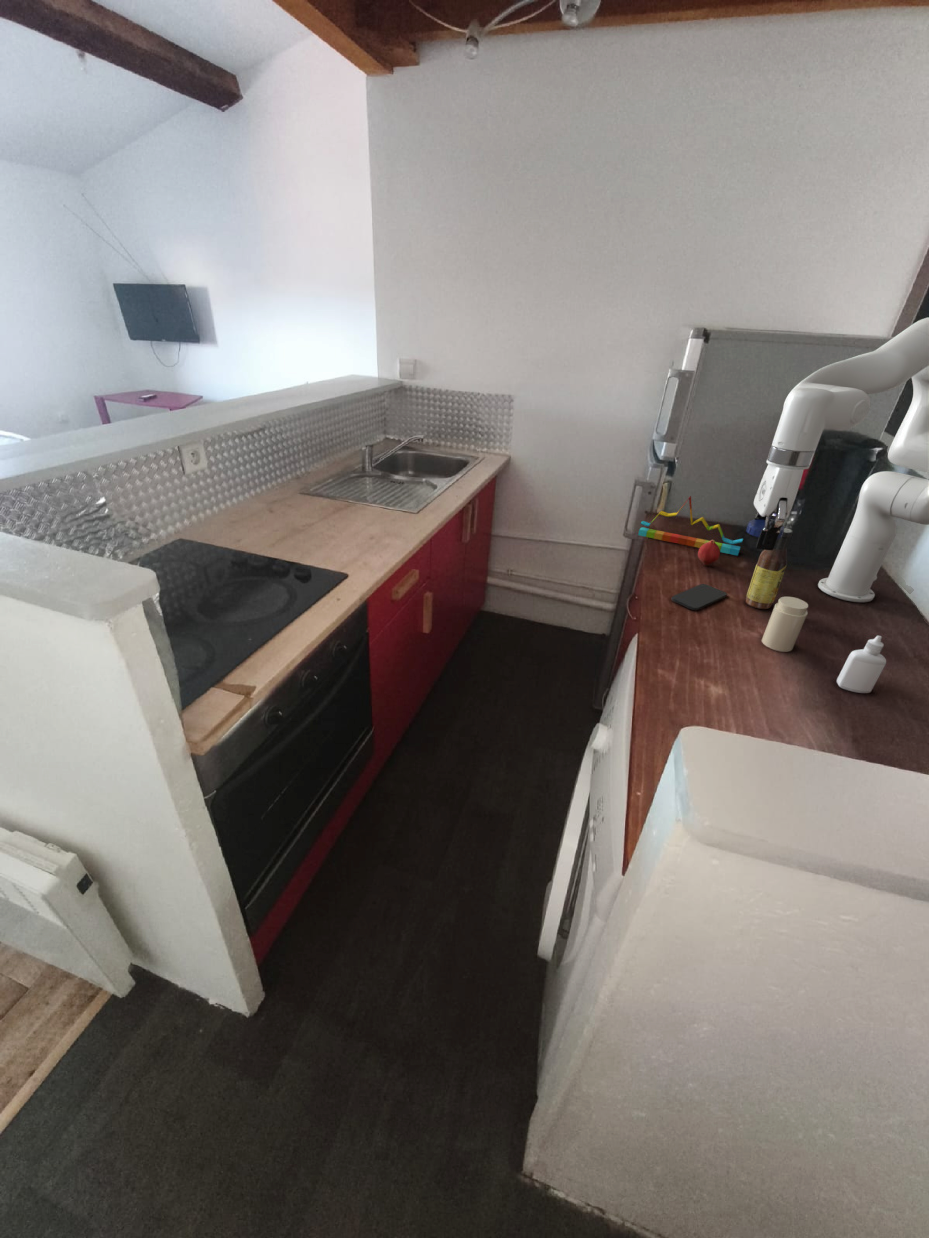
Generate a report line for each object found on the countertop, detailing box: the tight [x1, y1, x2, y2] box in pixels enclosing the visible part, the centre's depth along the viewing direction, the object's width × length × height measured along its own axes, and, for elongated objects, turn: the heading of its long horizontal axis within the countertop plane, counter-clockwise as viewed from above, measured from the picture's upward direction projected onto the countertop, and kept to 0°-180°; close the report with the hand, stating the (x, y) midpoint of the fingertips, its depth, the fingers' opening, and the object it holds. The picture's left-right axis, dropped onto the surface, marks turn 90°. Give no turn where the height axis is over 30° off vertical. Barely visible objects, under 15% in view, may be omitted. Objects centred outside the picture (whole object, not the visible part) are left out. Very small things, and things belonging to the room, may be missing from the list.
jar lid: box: [745, 519, 786, 539], centre depth 107 cm, size 7×7×2 cm
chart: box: [637, 495, 744, 557], centre depth 160 cm, size 30×3×15 cm, turn 59°
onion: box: [697, 539, 721, 566], centre depth 148 cm, size 6×6×8 cm
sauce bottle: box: [745, 527, 793, 610], centre depth 124 cm, size 6×6×20 cm
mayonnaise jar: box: [761, 596, 809, 653], centre depth 111 cm, size 6×6×11 cm
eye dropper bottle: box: [836, 635, 887, 694], centre depth 97 cm, size 4×6×12 cm
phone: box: [671, 583, 728, 611], centre depth 131 cm, size 7×1×15 cm
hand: (760, 542), depth 109 cm, fingers closed on jar lid, 6 cm apart
